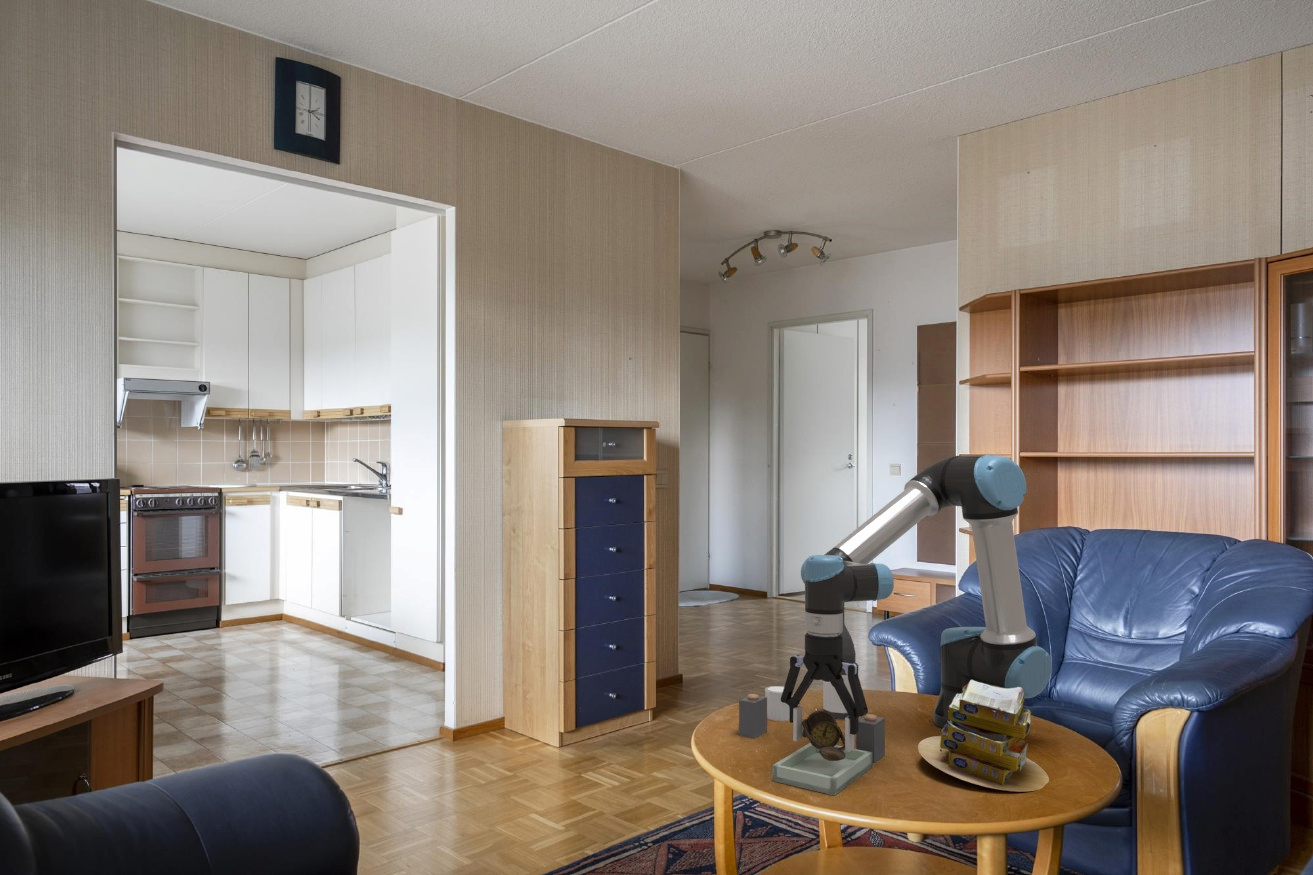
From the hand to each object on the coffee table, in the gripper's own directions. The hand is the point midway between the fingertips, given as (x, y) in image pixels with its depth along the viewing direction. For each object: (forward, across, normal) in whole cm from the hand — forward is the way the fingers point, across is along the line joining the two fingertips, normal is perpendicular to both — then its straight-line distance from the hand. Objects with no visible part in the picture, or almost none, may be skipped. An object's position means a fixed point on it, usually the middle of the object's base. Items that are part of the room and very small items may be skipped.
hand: (823, 744), depth 175 cm
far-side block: (+6, -24, +15) cm, 29 cm away
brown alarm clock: (+2, 0, 0) cm, 2 cm away
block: (+6, +4, +15) cm, 17 cm away
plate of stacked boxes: (+6, +25, +21) cm, 33 cm away
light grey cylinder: (+6, -25, +30) cm, 40 cm away
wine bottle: (+6, -14, +41) cm, 44 cm away
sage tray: (+6, 0, 0) cm, 6 cm away
